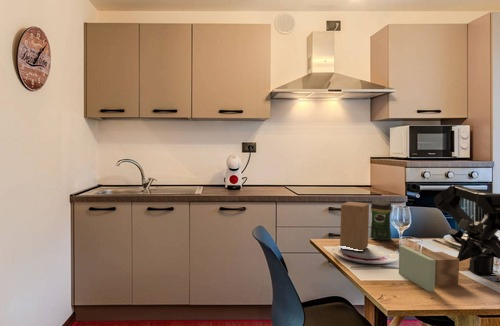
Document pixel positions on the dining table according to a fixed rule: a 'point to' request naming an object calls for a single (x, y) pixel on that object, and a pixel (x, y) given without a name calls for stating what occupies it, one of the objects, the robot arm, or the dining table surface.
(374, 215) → the coffee jar
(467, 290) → the dining table surface
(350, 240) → the wooden block
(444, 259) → the walnut block
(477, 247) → the robot arm
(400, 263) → the stop board
